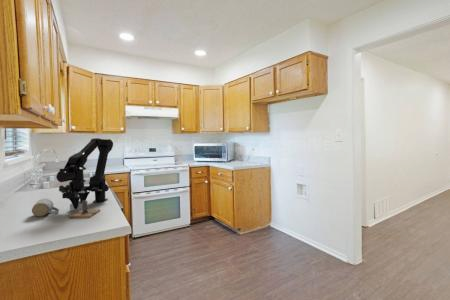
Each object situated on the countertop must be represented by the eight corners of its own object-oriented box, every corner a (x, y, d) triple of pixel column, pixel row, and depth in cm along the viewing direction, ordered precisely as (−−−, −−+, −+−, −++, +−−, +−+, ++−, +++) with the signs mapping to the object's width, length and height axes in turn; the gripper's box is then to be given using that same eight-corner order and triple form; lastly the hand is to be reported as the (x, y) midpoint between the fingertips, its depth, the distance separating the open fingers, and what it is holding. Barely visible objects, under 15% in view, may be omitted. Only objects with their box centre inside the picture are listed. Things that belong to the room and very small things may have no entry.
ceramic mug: (31, 218, 114) (30, 202, 114) (36, 213, 122) (35, 199, 121) (57, 215, 119) (56, 200, 119) (60, 211, 126) (60, 196, 126)
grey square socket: (76, 207, 132) (76, 201, 131) (87, 207, 132) (87, 200, 132) (70, 210, 126) (69, 204, 125) (81, 210, 126) (81, 203, 126)
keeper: (80, 211, 123) (79, 198, 123) (100, 211, 124) (99, 198, 123) (68, 218, 113) (68, 204, 113) (90, 217, 114) (89, 203, 113)
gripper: (72, 176, 137) (74, 203, 138) (50, 182, 118) (52, 212, 119) (92, 176, 137) (93, 202, 138) (73, 181, 119) (74, 212, 120)
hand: (79, 207), depth 129 cm, fingers closed on grey square socket, 6 cm apart
